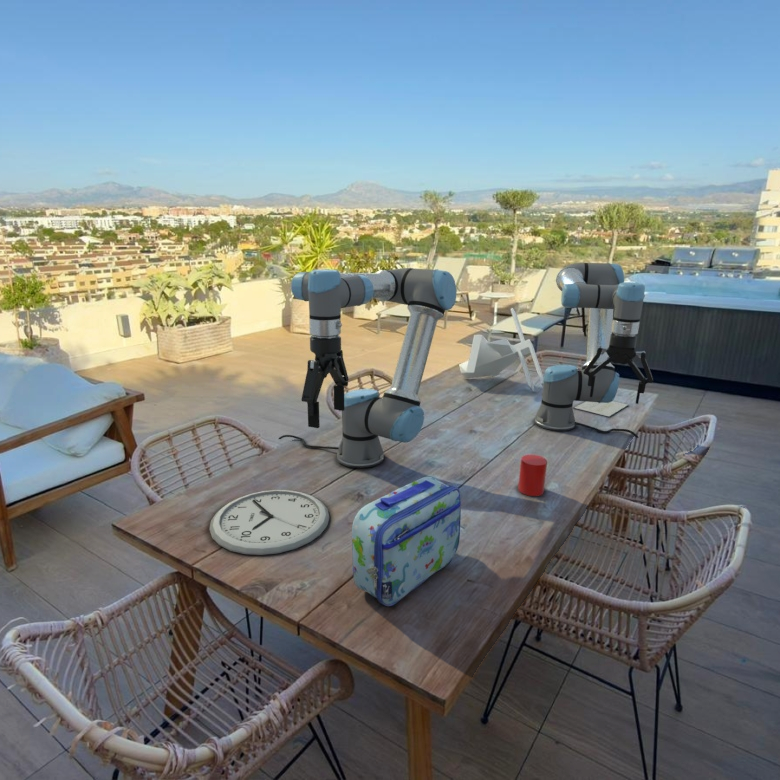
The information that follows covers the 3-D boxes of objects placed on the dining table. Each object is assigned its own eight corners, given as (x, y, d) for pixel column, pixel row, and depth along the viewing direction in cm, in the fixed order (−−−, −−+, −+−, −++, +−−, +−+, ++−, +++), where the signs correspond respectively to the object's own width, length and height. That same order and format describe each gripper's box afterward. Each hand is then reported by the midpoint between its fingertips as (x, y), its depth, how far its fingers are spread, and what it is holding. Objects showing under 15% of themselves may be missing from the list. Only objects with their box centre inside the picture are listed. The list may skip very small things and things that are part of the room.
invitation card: (608, 416, 214) (573, 407, 224) (608, 416, 214) (573, 408, 224) (628, 404, 229) (594, 396, 238) (628, 405, 229) (594, 397, 238)
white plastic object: (480, 420, 263) (459, 397, 239) (461, 347, 286) (440, 319, 261) (551, 396, 251) (537, 369, 226) (526, 322, 273) (511, 290, 249)
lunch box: (381, 619, 101) (382, 525, 95) (345, 592, 109) (344, 503, 102) (464, 563, 119) (469, 480, 113) (428, 543, 126) (432, 464, 120)
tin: (516, 493, 151) (519, 462, 148) (519, 482, 158) (522, 453, 155) (542, 498, 149) (546, 467, 146) (544, 487, 155) (548, 457, 152)
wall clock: (327, 546, 121) (194, 551, 119) (327, 552, 122) (195, 557, 119) (330, 485, 150) (223, 488, 147) (330, 490, 150) (224, 493, 148)
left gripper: (313, 347, 114) (316, 437, 120) (361, 328, 136) (360, 405, 142) (283, 344, 116) (287, 432, 123) (335, 325, 138) (336, 401, 145)
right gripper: (580, 332, 162) (571, 396, 169) (669, 341, 152) (656, 409, 159) (582, 327, 169) (574, 389, 176) (669, 336, 159) (656, 401, 166)
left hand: (327, 418), depth 132 cm, fingers open, 13 cm apart
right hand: (613, 399), depth 167 cm, fingers open, 13 cm apart
